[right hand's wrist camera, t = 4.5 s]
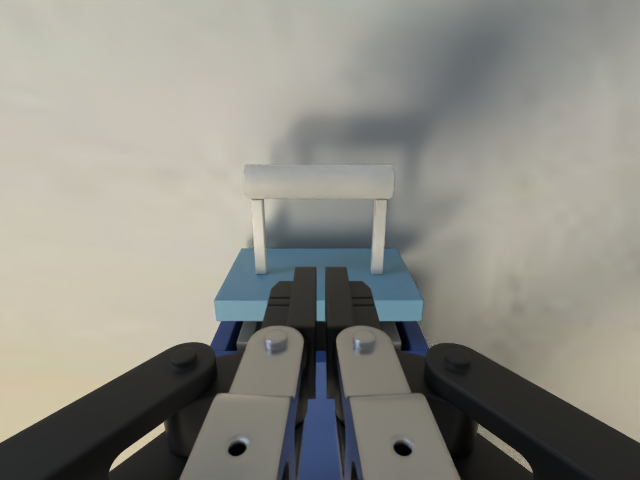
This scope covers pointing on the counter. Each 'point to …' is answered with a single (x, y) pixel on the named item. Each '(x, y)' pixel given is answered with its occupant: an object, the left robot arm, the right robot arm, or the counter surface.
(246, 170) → the drawer
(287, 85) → the counter surface
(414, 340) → the cabinet
